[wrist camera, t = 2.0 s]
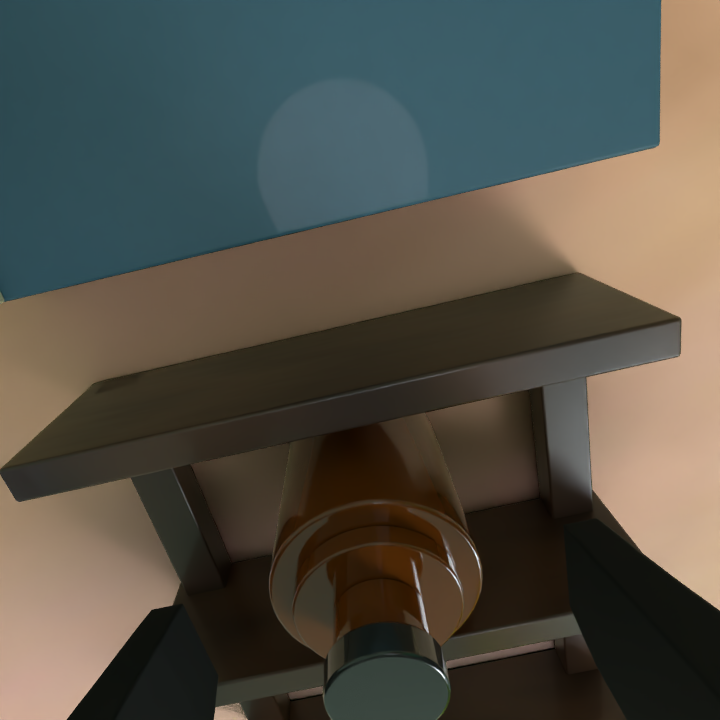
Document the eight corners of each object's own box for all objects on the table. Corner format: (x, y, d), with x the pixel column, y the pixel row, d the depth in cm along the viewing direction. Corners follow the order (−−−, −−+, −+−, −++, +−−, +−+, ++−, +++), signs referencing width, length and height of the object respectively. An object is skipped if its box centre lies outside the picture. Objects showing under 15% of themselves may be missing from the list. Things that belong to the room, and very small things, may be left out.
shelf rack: (255, 722, 18) (234, 864, 15) (93, 382, 13) (-4, 471, 9) (599, 654, 18) (669, 783, 14) (580, 271, 12) (684, 317, 9)
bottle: (311, 521, 15) (292, 802, 8) (272, 402, 13) (211, 633, 7) (445, 492, 15) (534, 756, 8) (422, 369, 13) (507, 571, 7)
